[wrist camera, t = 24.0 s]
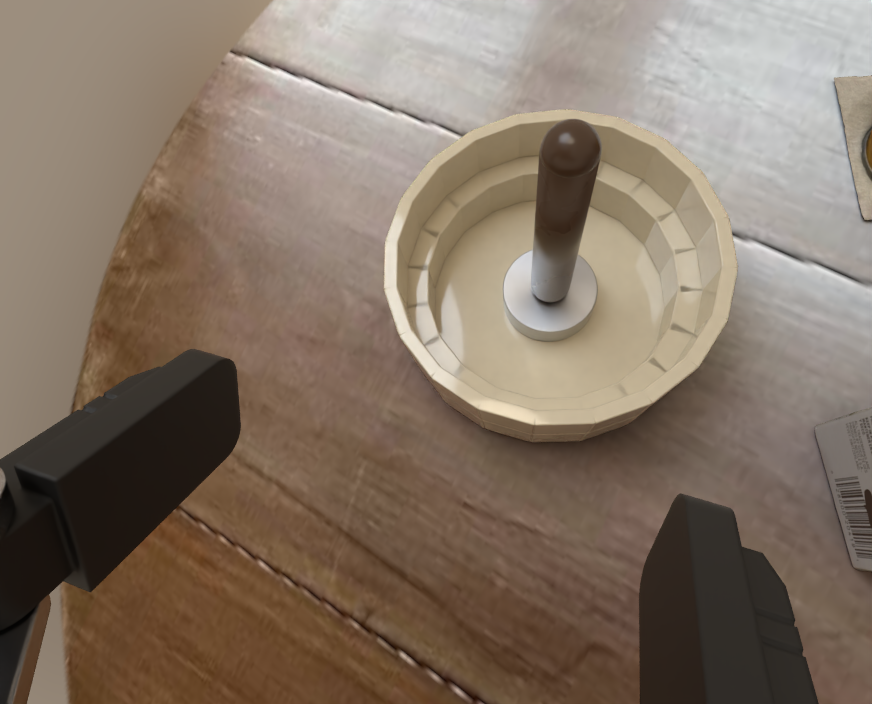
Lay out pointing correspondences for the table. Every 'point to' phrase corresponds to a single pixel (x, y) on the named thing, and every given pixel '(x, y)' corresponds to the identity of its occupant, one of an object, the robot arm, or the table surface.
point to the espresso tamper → (557, 239)
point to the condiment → (858, 133)
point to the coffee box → (851, 479)
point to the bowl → (600, 247)
